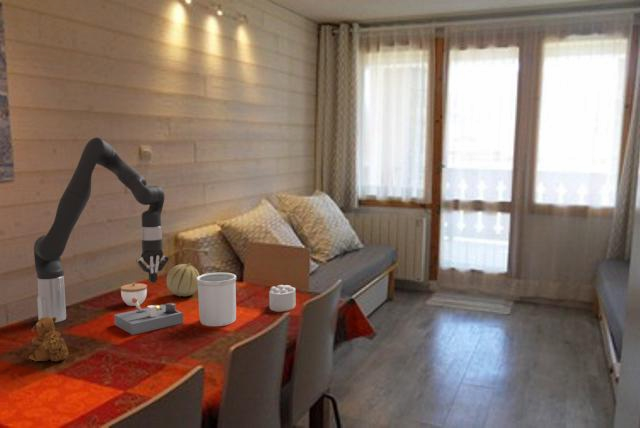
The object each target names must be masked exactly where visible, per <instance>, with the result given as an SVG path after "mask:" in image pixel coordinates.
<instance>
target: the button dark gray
mask: <svg viewBox="0 0 640 428" xmlns="http://www.w3.org/2000/svg"><path fill="white" fill-rule="evenodd" d="M164 305H165V306H166V313H174V312H175V310H176V303H175V302H168V303H165V304H164Z"/></svg>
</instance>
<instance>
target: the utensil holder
mask: <svg viewBox="0 0 640 428" xmlns="http://www.w3.org/2000/svg"><path fill="white" fill-rule="evenodd" d="M199 275H200V274H199ZM236 281H237V275H236V274H234V273H231V272H208V273H203V274H201V275H200V276H198V277H197V283H198V289H197V295H198V296H197V297H198V298H197V299H198V310H199V311H198V312H199V321H200V324H201V325H202V326H206V327H222V326H228V325H231V324H233V323H235V322H236V319H237V299H236V298H237V295H236V294H237V293H236V292H237V291H236V289H237V285H236Z"/></svg>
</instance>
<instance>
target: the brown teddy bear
mask: <svg viewBox="0 0 640 428" xmlns="http://www.w3.org/2000/svg"><path fill="white" fill-rule="evenodd" d="M56 320H57V317H53V318H50V317H44V318H41V319H40V320H39V319H38V320H37V321H36V324H35V325H33V327H32V328H31V332H32V333H34V332H35V329H36V331H37V333H38V335H39V336H37V337H33V338H32V339H31V344H32V345H33V346H37V345H38V348H37V349H36V350H35V351H34V353H33V354H30V355H29V356H28V358H29V360H30V359H31V360H30V361H32V360H34V361H33V362H36V361H43V362H48V360H49V361H51V362H53V361H55V362H54V363H58V362H60V361H63V360H66V359H67V357H68V355H70V354H69V349H68V346H67V344H66V342H65V339H64V337H62V336H61V335H62V333H61V332H59V331H58V330H57V331H56V327H55V323H57V322H56Z"/></svg>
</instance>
